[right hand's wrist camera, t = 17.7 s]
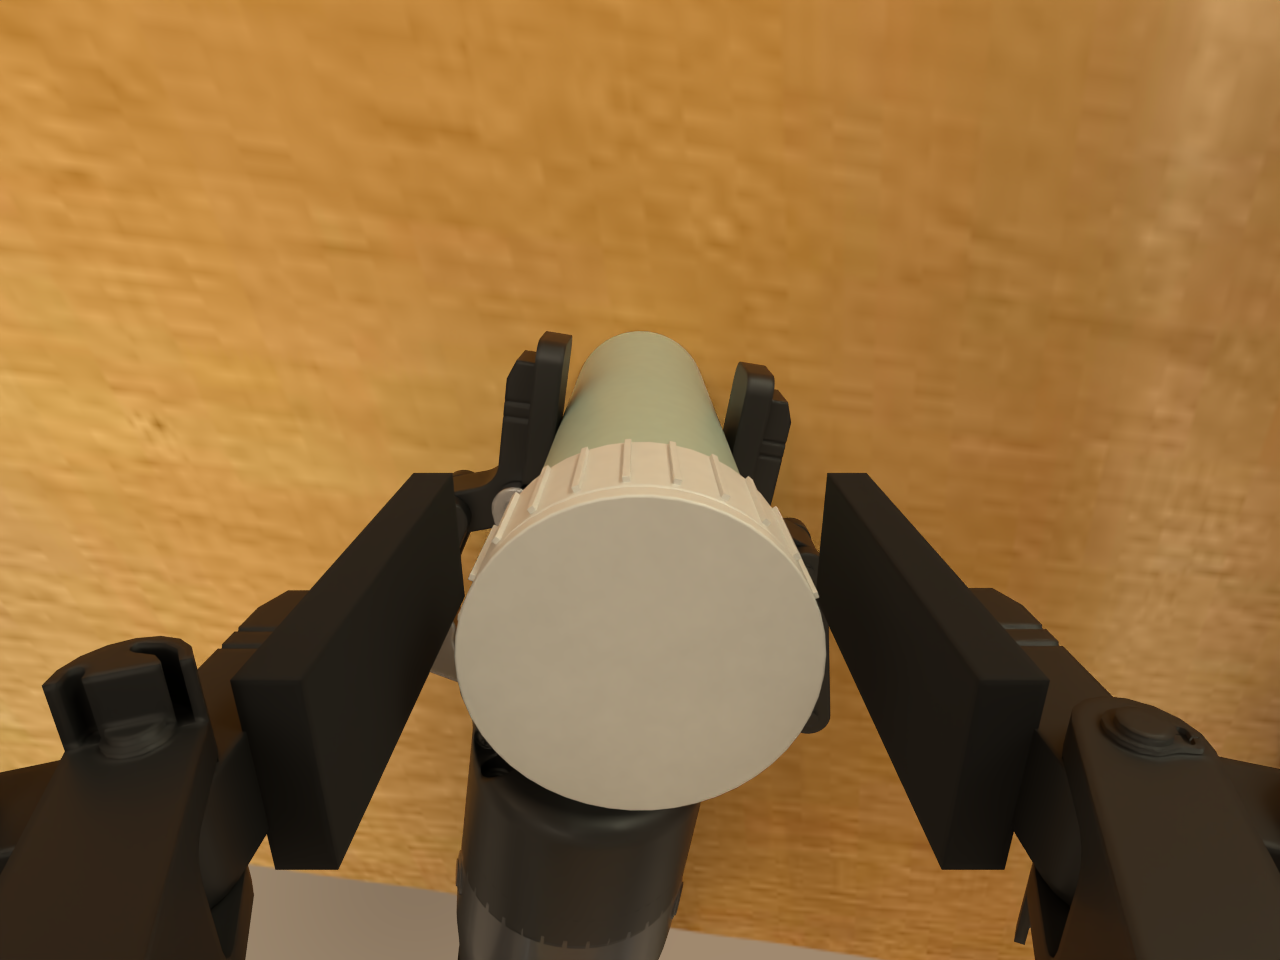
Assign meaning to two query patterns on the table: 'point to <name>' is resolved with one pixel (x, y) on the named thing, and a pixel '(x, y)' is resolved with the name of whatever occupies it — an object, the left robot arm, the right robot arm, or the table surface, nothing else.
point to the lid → (640, 630)
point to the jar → (640, 400)
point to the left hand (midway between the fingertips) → (657, 356)
